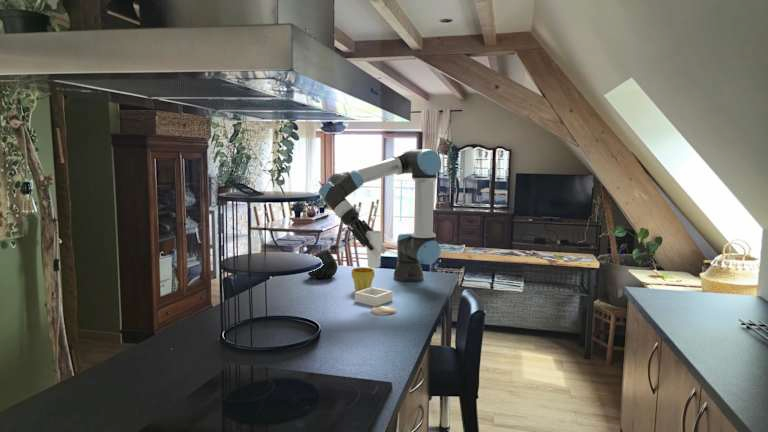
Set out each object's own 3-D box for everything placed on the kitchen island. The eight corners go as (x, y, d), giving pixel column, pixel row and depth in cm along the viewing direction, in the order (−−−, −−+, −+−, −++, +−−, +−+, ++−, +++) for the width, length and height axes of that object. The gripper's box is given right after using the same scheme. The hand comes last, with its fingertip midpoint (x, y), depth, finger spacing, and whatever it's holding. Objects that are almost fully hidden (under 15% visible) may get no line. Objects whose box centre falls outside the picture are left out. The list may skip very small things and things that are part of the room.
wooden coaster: (381, 306, 208) (381, 304, 208) (401, 310, 202) (401, 309, 202) (366, 311, 200) (366, 310, 200) (386, 316, 194) (386, 315, 194)
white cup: (368, 269, 209) (368, 233, 207) (364, 265, 215) (364, 231, 214) (384, 268, 211) (384, 232, 209) (379, 264, 218) (379, 230, 216)
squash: (299, 265, 258) (310, 246, 250) (325, 263, 268) (335, 244, 259) (309, 287, 251) (320, 269, 242) (335, 284, 260) (346, 266, 251)
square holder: (371, 295, 223) (371, 286, 222) (392, 300, 216) (392, 291, 216) (354, 301, 214) (354, 292, 213) (376, 306, 207) (376, 296, 207)
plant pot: (373, 294, 226) (373, 272, 225) (350, 293, 226) (350, 272, 225) (374, 288, 236) (374, 267, 235) (352, 287, 237) (352, 267, 235)
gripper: (350, 216, 226) (384, 255, 222) (330, 221, 208) (366, 264, 204) (361, 205, 223) (396, 244, 219) (341, 209, 205) (378, 252, 201)
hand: (381, 253), depth 211 cm, fingers closed on white cup, 7 cm apart
